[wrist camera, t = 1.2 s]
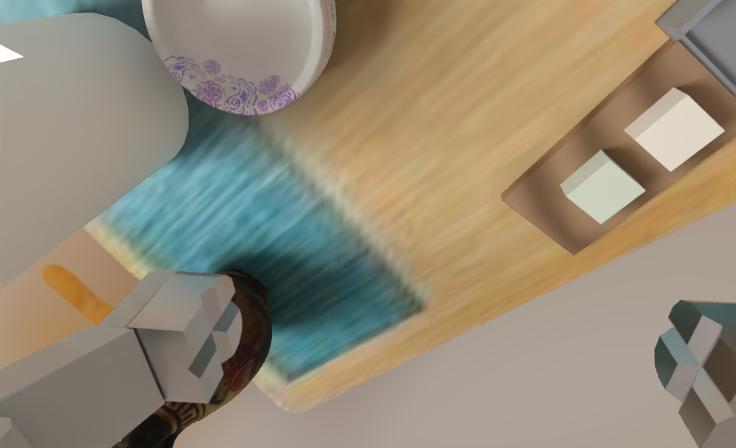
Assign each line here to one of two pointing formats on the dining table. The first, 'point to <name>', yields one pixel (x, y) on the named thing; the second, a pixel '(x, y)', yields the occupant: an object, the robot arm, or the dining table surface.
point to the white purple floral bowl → (243, 48)
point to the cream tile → (674, 129)
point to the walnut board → (619, 146)
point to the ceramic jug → (158, 432)
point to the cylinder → (77, 127)
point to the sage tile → (601, 187)
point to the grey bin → (706, 35)
